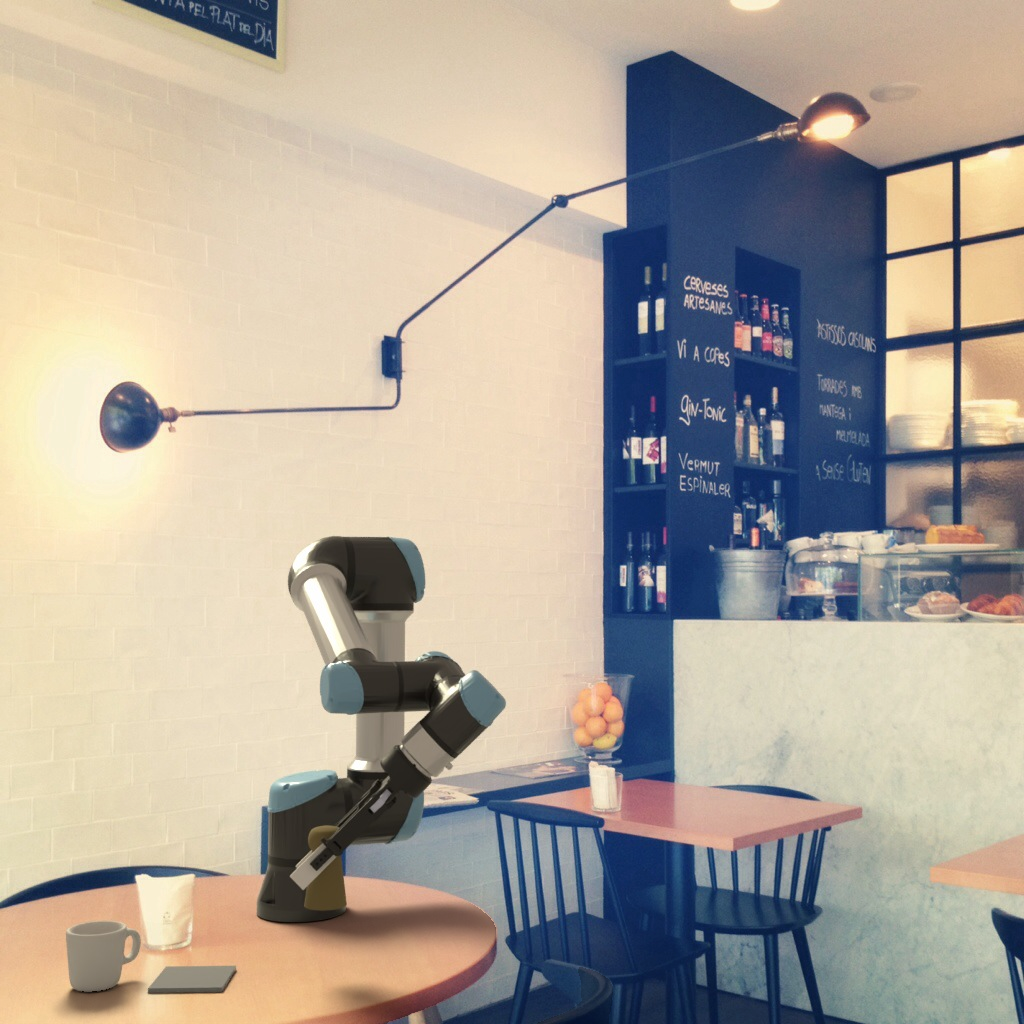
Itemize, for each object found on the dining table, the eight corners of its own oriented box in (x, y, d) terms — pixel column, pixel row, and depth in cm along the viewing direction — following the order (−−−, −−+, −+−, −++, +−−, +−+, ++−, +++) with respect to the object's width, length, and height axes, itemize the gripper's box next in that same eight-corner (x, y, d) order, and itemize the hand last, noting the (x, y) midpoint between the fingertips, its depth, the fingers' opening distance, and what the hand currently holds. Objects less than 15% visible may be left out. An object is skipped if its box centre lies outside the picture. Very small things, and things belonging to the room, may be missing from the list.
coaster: (165, 970, 173) (166, 966, 173) (236, 969, 173) (236, 965, 173) (147, 992, 163) (147, 988, 163) (222, 991, 163) (222, 987, 163)
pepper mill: (306, 911, 168) (307, 831, 168) (302, 900, 174) (303, 823, 174) (349, 908, 169) (350, 829, 170) (343, 898, 175) (344, 821, 176)
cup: (122, 970, 173) (123, 913, 174) (154, 981, 168) (156, 922, 169) (52, 988, 165) (54, 928, 165) (84, 1000, 160) (86, 938, 160)
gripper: (432, 790, 164) (309, 913, 162) (435, 770, 182) (325, 880, 181) (394, 751, 164) (271, 874, 162) (401, 734, 182) (290, 844, 181)
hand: (299, 877), depth 172 cm, fingers closed on pepper mill, 5 cm apart
